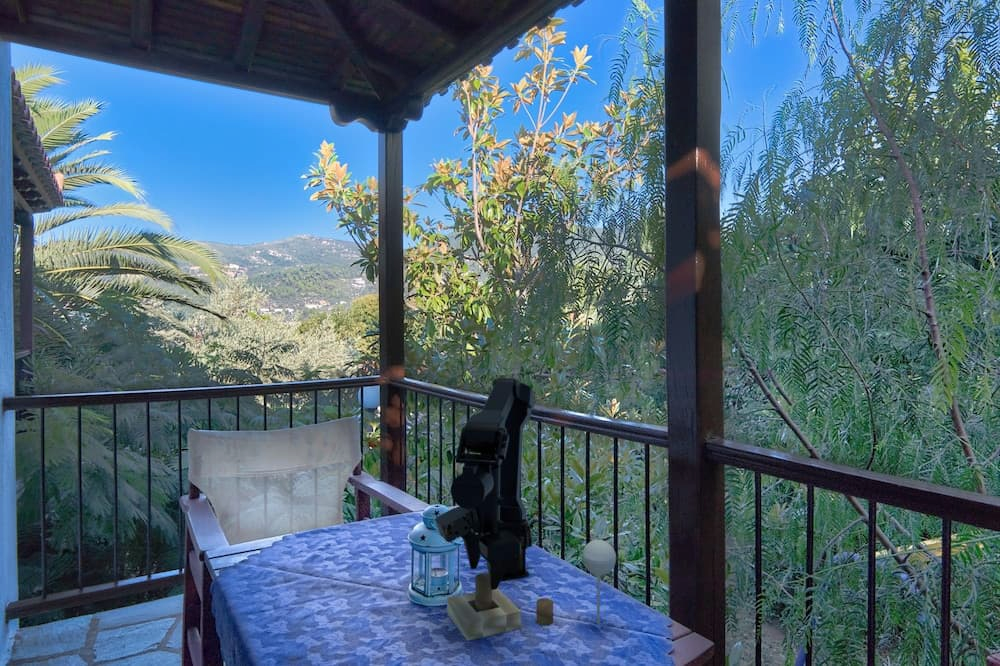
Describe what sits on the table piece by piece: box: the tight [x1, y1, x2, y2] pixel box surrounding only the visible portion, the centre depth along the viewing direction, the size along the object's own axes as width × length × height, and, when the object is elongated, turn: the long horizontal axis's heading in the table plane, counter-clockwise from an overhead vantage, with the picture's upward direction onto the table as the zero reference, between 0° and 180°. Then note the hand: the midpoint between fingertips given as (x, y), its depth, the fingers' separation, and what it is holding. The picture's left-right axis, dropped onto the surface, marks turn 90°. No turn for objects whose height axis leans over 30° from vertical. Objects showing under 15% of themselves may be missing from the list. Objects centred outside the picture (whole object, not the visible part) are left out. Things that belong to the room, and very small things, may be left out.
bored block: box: [446, 587, 522, 642], centre depth 109 cm, size 10×10×3 cm
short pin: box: [535, 597, 554, 626], centre depth 109 cm, size 3×3×4 cm
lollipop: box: [581, 539, 617, 626], centre depth 108 cm, size 6×6×15 cm
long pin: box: [474, 572, 492, 612], centre depth 109 cm, size 3×3×8 cm
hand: (483, 578), depth 109 cm, fingers open, 9 cm apart
